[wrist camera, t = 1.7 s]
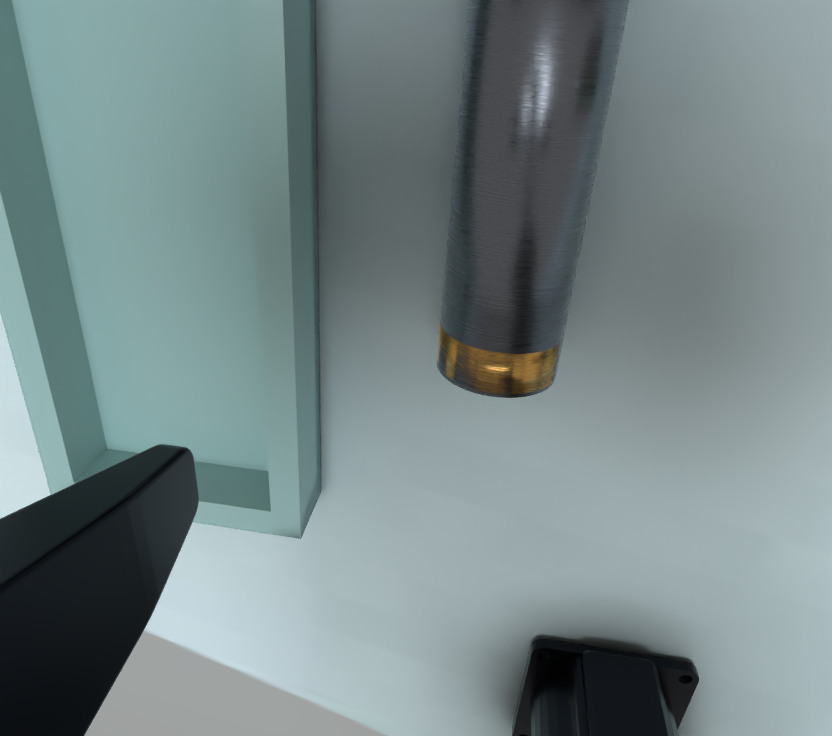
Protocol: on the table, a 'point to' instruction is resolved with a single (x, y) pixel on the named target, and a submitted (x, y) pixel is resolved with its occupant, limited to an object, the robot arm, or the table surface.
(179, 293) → the tray
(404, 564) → the table surface
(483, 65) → the dark grey cylinder
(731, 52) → the table surface
